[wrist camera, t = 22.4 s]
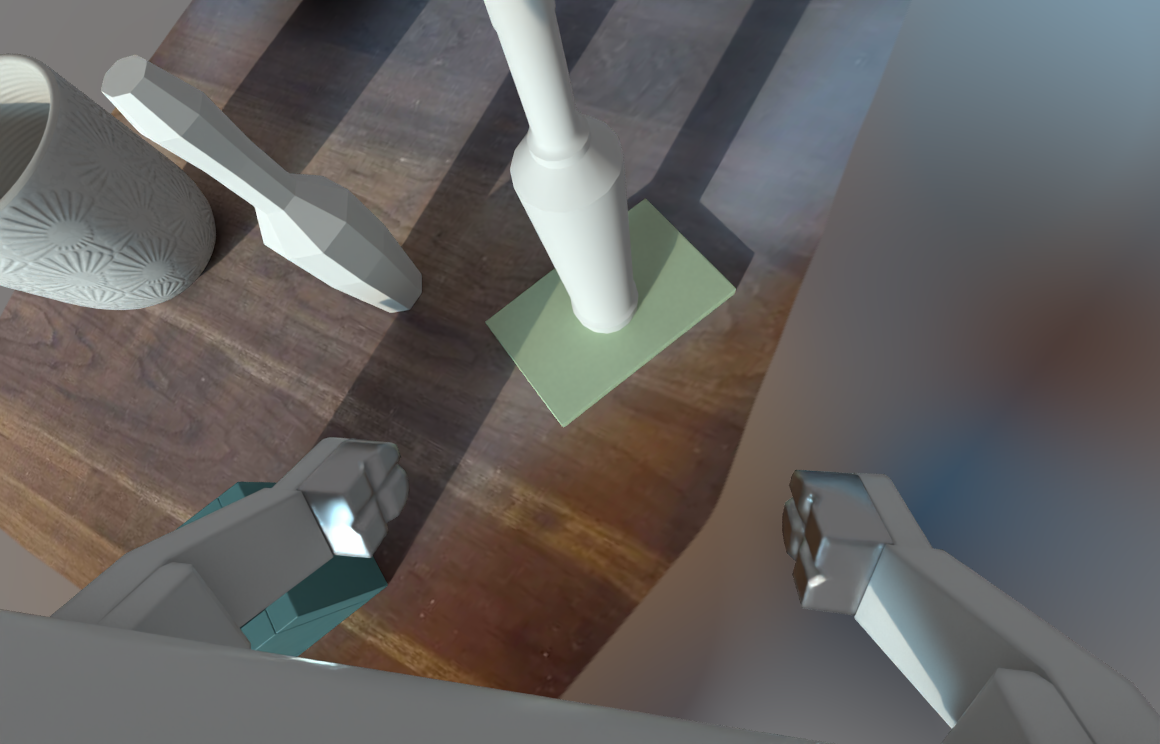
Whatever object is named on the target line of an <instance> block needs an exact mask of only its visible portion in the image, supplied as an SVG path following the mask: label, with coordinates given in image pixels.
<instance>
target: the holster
mask: <svg viewBox="0 0 1160 744" xmlns="http://www.w3.org/2000/svg"><path fill="white" fill-rule="evenodd" d="M275 484H277V483H270V482H237V483H236V484H235V485H233V486H232V487H231V488H229V489H228V490H227V491H225V492H224V493H223V494H222V495H220V496H219V497H218V498H216V499H215V500H214V501H212V502H211V503H210V504H208V505H207V506H206V507H205V508H203V509H202V510H201V511H199V512H198V513H197V514H196V515H194V516H193V517H192V518H190V519H189V520H188V521H186V522H185V523H184V524H183V525H181V526H180V527H179V528H181V527H183V526H185V525H187V524H189V523H191V522H194V521H196V520H198V519H200V518H202V517H204V516H206V515H208V514H211V513H213V512H215V511H217V510H219V509H221V508H223V507H225V506H227V505H230V504H232V503H234V502H236V501H238V500H240V499H242V498H244V497H246V496H249V495H251V494H253V493H255V492H257V491H259V490H261V489H263V488H272V487H273V486H274V485H275ZM179 528H177V529H179ZM177 529H176V530H177ZM387 585H388V584H387V582H386V580H385V578H384V577H383V575H382V573H381V571H380V569H379V567H378V565H377V563H376V561H375V559H374V557H373V556H372V557H371V558H365V557H354V556H342V555H333V558H332V559H330V560H329V561H328V562H326V563H325V564H324V565H322V566H321V567H320V568H318V569H317V570H316V571H314V572H313V573H312V574H310V575H309V576H308V577H306V578H305V579H304V580H302V581H301V582H300V583H298V584H297V585H296V586H294V587H293V588H292V589H290V590H289V591H288V592H286V593H285V594H284V595H282V596H281V597H280V598H278V599H277V600H276V601H274V602H273V603H272V604H271V605H269V606H268V607H267V608H265V609H264V610H263V611H261V612H260V613H259V614H257V615H256V616H255V617H253V618H252V619H251V620H249V621H248V622H247V623H245V624H244V625H243V626H241V627H240V629H241V631H242V632H243V633H244V635H245V636H246V637H247V639H248V640H249V641H250V643H251V650H257V651H263V652H269V653H275V654H282V655H288V656H294V657H297V656H299V655H300V654H301V653H302V652H304V651H305V650H306V649H308V648H309V647H310V646H311V645H313V644H314V643H315V642H317V641H318V640H319V639H320V638H322V637H323V636H324V635H325V634H327V633H328V632H329V631H331V630H332V629H333V628H334V627H336V626H337V625H338V624H339V623H341V622H342V621H343V620H345V619H346V618H347V617H348V616H350V615H351V614H352V613H353V612H355V611H356V610H357V609H359V608H360V607H361V606H362V605H364V604H365V603H366V602H367V601H369V600H370V599H371V598H372V597H374V596H375V595H376V594H378V593H379V592H380V591H381V590H383V589H384V588H385V587H386V586H387Z"/></svg>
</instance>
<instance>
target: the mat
mask: <svg viewBox="0 0 1160 744" xmlns="http://www.w3.org/2000/svg"><path fill="white" fill-rule="evenodd" d="M628 218H629V231H630V244H631V257H632V270H633V280H634V281H635V284H636V288H637V291H638V304H637V310H636V313H635V315H634V316H633V318H632V319H631V321H630V323H629V324H627V325H626V326H625V327H623V328H622V329H621V330H619V331H616V332H612V333H608V334H606V333H597V332H594V331H592V330H590V329H588V328H587V327H585V326H583V324H582V323H581V322H580V321H579V319H578V318H577V317H576V315H575V314H574V312H573V308H572V304H571V298H570V296H569V294H568V292H567V290H566V288H565V286H564V284H563V282H562V280H561V278H560V276H559V274H558V272H557V270H556V269H555V268H554V269H553V270H552V271H550V272H549V273H548V274H547V275H545V276H544V277H543V278H541V279H540V280H539V281H537V282H536V283H535V284H534V285H532V286H531V287H530V288H528V289H527V290H526V291H525V292H523V293H522V294H521V295H519V296H518V297H517V298H515V299H514V300H513V301H512V302H510V303H509V304H508V305H506V306H505V307H504V308H503V309H501V310H500V311H499V312H497V313H496V314H495V315H494V316H492V317H491V318H490V319H488V320H487V321H486V322H485V323H486V325H487V326H488V327H489V329H490V330H491V331H492V333H493V334H494V335H495V337H496V338H497V339H498V341H499V342H500V343H501V345H502V346H503V347H504V349H505V350H506V351H507V353H508V354H509V355H510V357H511V358H512V360H513V361H514V362H515V364H516V365H517V366H518V368H519V369H520V370H521V372H522V373H523V374H524V376H525V377H526V378H527V380H528V381H529V382H530V384H531V385H532V386H533V388H534V389H535V390H536V392H537V393H538V395H539V396H540V397H541V399H542V400H543V401H544V403H545V404H546V405H547V407H548V408H549V409H550V411H551V412H552V413H553V415H554V416H555V417H556V419H557V420H558V421H559V423H560V424H561V425H562V426H563V427H565V426H567V425H568V424H569V423H570V422H572V421H573V420H574V419H575V418H577V417H578V416H579V415H581V414H582V413H583V412H584V411H586V410H587V409H588V408H589V407H591V406H592V405H593V404H595V403H596V402H597V401H598V400H600V399H601V398H602V397H603V396H605V395H606V394H607V393H609V392H610V391H611V390H612V389H614V388H615V387H616V386H617V385H619V384H620V383H621V382H623V381H624V380H625V379H626V378H628V377H629V376H630V375H632V374H633V373H634V372H635V371H637V370H638V369H639V368H640V367H642V366H643V365H644V364H646V363H647V362H648V361H649V360H651V359H652V358H653V357H654V356H656V355H657V354H658V353H660V352H661V351H662V350H663V349H665V348H666V347H667V346H668V345H670V344H671V343H672V342H674V341H675V340H676V339H677V338H679V337H680V336H681V335H682V334H684V333H685V332H686V331H688V330H689V329H690V328H691V327H693V326H694V325H695V324H696V323H698V322H699V321H700V320H702V319H703V318H704V317H705V316H707V315H708V314H709V313H711V312H712V311H713V310H714V309H716V308H717V307H718V306H719V305H721V304H722V303H723V302H725V301H726V300H727V299H728V298H730V297H731V296H732V295H733V294H734V293H735V291H736V288H735V287H734V286H733V285H732V284H731V283H730V282H729V281H728V280H727V279H726V278H725V277H724V276H723V275H722V274H721V273H720V272H719V271H718V270H717V269H716V268H715V267H714V266H713V265H712V264H711V263H710V262H709V261H708V260H707V259H706V258H705V257H704V256H703V255H702V254H701V253H700V252H699V251H698V250H697V249H696V248H695V247H694V246H693V245H692V244H691V243H690V242H689V241H688V240H687V239H686V238H685V237H684V236H683V235H682V234H681V233H680V232H679V231H678V230H677V229H676V228H675V227H674V226H673V225H672V224H671V223H670V222H669V221H668V220H667V219H666V218H665V217H664V216H663V215H662V214H661V213H660V212H659V211H658V210H657V209H656V208H655V207H654V206H653V205H652V204H651V203H650V202H649V201H648V200H647V199H644V200H642V201H641V202H640V203H638V204H637V205H636V206H634V207H633V208H632V209H631V210H629V211H628Z"/></svg>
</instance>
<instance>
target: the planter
mask: <svg viewBox="0 0 1160 744" xmlns="http://www.w3.org/2000/svg"><path fill="white" fill-rule="evenodd" d="M215 239H216V227H215V221H214V216H213V213H212V210H211V207H210V205H209V203H208V201H207V199H206V198H205V196H204V194H203V193H202V192H201V190H200V189H199V188H198V186H197V185H196V184H195V183H194V182H193V180H192V179H191V178H190V177H189V176H188V175H187V174H186V173H185V172H184V171H183V170H182V169H181V168H180V167H178V166H177V165H176V164H175V163H174V162H172V161H171V160H170V159H168V158H167V157H166V156H165V155H163V154H162V153H161V152H159V151H158V150H157V149H155V148H154V147H153V146H152V145H150V144H149V143H148V142H146V141H145V140H144V139H142V138H141V137H140V136H138V135H137V134H136V133H135V132H133V131H132V130H131V129H129V128H128V127H127V126H125V125H124V124H123V123H121V122H120V121H119V120H118V119H116V118H115V117H114V116H112V115H111V114H110V113H108V112H107V111H106V110H105V109H103V108H102V107H101V106H99V105H98V104H97V103H95V102H94V101H93V100H91V99H90V98H89V97H88V96H86V95H85V94H84V93H82V92H81V91H80V90H78V89H77V88H76V87H75V86H73V85H72V84H71V83H69V82H68V81H67V80H65V79H64V78H63V77H61V76H60V75H59V74H58V73H56V72H55V71H54V70H52V69H51V68H50V67H48V66H47V65H46V64H44V63H43V62H41V61H39V60H37V59H35V58H33V57H30V56H26V55H21V54H0V285H1V286H5V287H9V288H12V289H16V290H20V291H24V292H28V293H32V294H35V295H39V296H43V297H47V298H51V299H55V300H59V301H62V302H66V303H70V304H75V305H79V306H85V307H91V308H97V309H109V310H130V309H140V308H145V307H149V306H153V305H156V304H159V303H162V302H165V301H167V300H170V299H172V298H174V297H175V296H177V295H179V294H180V293H182V292H183V291H184V290H186V289H187V288H188V287H189V286H190V285H191V284H192V283H193V282H194V281H195V280H196V279H197V278H198V277H199V276H200V274H201V273H202V272H203V270H204V269H205V267H206V265H207V264H208V262H209V260H210V257H211V255H212V252H213V249H214V245H215Z"/></svg>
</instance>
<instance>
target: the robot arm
mask: <svg viewBox="0 0 1160 744" xmlns="http://www.w3.org/2000/svg"><path fill="white" fill-rule="evenodd" d="M400 458H401V455H400V452H399V450H398V447H397V445H396V444H393V443H391V442H383V441H372V440H361V439H351V438H350V439H346V438H335V437H329V438H326V439H323V440H321V441H320V442H319V443H318V444H317V445H316V446H315V447H314V448H313V449H312V450H311V451H310V452H309V453H308V454H307V455H306V456H305V457H304V458H303V459H301V460H300V461H299V462H298V463H297V464H296V465H295V466H294V467H293V468H292V469H291V470H290V471H289V472H288V473H287V474H286V475H285V476H284V477H283V478H282V479H281V480H280V481H279V482H278V483H277V484H275V485H274V486H273V487H272V488H263V489H261V490H259V491H257V492H255V493H253V494H251V495H249V496H246V497H244V498H242V499H240V500H238V501H236V502H234V503H232V504H230V505H227V506H225V507H223V508H221V509H219V510H217V511H215V512H213V513H211V514H208V515H206V516H204V517H202V518H200V519H198V520H196V521H194V522H191V523H189V524H187V525H185V526H183V527H181V528H179V529H177V530H175V531H172V532H170V533H168V534H166V535H164V536H162V537H160V538H158V539H155V540H153V541H151V542H149V543H147V544H145V545H143V546H141V547H139V548H136V549H134V550H132V551H130V552H128V553H126V554H125V555H123V556H122V557H121V558H120V559H119V560H117V561H116V562H115V563H114V564H113V565H111V566H110V567H109V568H108V569H107V570H105V571H104V572H103V573H102V574H100V575H99V576H98V577H97V578H96V579H94V580H93V581H92V582H91V583H90V584H88V585H87V586H86V587H85V588H84V589H82V590H81V591H80V592H79V593H78V594H76V595H75V596H74V597H73V598H72V599H70V600H69V601H68V602H67V603H66V604H64V605H63V606H62V607H61V608H59V609H58V610H57V611H56V612H55V613H53V614H52V615H51V616H50V617H46V616H40V615H34V614H27V613H21V612H15V611H9V610H3V609H0V744H832V743H826V742H820V741H814V740H808V739H802V738H795V737H789V736H783V735H777V734H771V733H765V732H758V731H752V730H746V729H740V728H734V727H727V726H721V725H714V724H709V723H703V722H697V721H691V720H684V719H678V718H672V717H666V716H660V715H653V714H647V713H641V712H635V711H629V710H622V709H616V708H610V707H604V706H598V705H592V704H586V703H580V702H573V701H567V700H561V699H555V698H549V697H543V696H536V695H530V694H524V693H518V692H512V691H505V690H499V689H493V688H487V687H480V686H474V685H468V684H462V683H456V682H449V681H443V680H437V679H431V678H424V677H418V676H412V675H406V674H400V673H393V672H387V671H381V670H375V669H369V668H362V667H356V666H350V665H344V664H337V663H331V662H325V661H319V660H313V659H306V658H300V657H294V656H288V655H282V654H275V653H269V652H263V651H257V650H251V643H250V641H249V640H248V639H247V637H246V636H245V635H244V633H243V632H242V631H241V629H240V627H241V626H243V625H244V624H245V623H247V622H248V621H249V620H251V619H252V618H253V617H255V616H256V615H257V614H259V613H260V612H261V611H263V610H264V609H265V608H267V607H268V606H269V605H271V604H272V603H273V602H274V601H276V600H277V599H278V598H280V597H281V596H282V595H284V594H285V593H286V592H288V591H289V590H290V589H292V588H293V587H294V586H296V585H297V584H298V583H300V582H301V581H302V580H304V579H305V578H306V577H308V576H309V575H310V574H312V573H313V572H314V571H316V570H317V569H318V568H320V567H321V566H322V565H324V564H325V563H326V562H328V561H329V560H330V559H332V558H333V555H342V556H354V557H365V558H371V557H372V556H373V554H374V553H375V551H376V550H377V548H378V547H379V545H380V544H381V542H382V540H383V539H384V537H385V536H386V534H387V533H388V526H387V522H389V521H391V520H392V519H394V518H395V517H397V516H399V514H400V513H401V511H402V510H403V508H404V506H405V505H406V502H407V498H408V494H409V480H408V476H407V473H406V472H405V471H404V470H403V469H402V468H401V467H400V466H399V465H398V462H399V460H400ZM789 486H790V489H791V492H792V496H793V497H792V498H791V499H789V500H788V501H787V502H786V503H785V506H784V512H783V517H782V531H783V539H784V544H785V547H786V552H787V554H789V555H790V556H791V557H792V558H793V559H794V560H795V561H796V563H795V567H794V570H793V578H794V581H795V585H796V589H797V592H798V596H799V600H800V603H801V607H802V608H805V609H812V610H819V611H826V612H833V613H841V614H847V615H855V619H856V620H857V622H858V623H859V624H860V625H861V626H862V627H863V628H864V630H865V631H866V632H867V633H868V634H869V635H870V636H871V637H872V639H873V640H874V641H875V642H876V643H877V644H878V645H879V647H880V648H881V649H882V650H883V651H884V652H885V653H886V655H887V656H888V657H889V658H890V659H891V660H892V661H893V662H894V664H895V665H896V666H897V667H898V668H899V669H900V670H901V671H902V673H903V674H904V675H905V676H906V677H907V678H908V679H909V681H910V682H911V683H912V684H913V685H914V686H915V687H916V689H917V690H918V691H919V692H920V693H921V694H922V695H923V697H924V698H925V699H926V700H927V701H928V702H929V703H930V704H931V706H932V707H933V708H934V709H935V710H936V711H937V712H938V714H939V715H940V716H941V717H942V718H943V719H944V720H945V722H946V723H947V724H948V725H949V726H950V727H951V728H952V730H951V731H950V732H949V733H948V735H947V736H946V737H945V739H944V740H943V742H942V743H941V744H1160V716H1159V714H1158V713H1157V712H1156V711H1155V709H1154V708H1153V707H1152V706H1151V704H1150V703H1149V702H1148V701H1147V700H1146V698H1145V697H1144V696H1143V694H1142V693H1141V692H1140V691H1139V689H1138V688H1137V687H1136V686H1135V684H1134V683H1133V682H1131V681H1130V680H1128V679H1127V678H1126V677H1124V676H1123V675H1121V674H1120V673H1118V672H1117V671H1116V670H1114V669H1112V668H1111V667H1110V666H1109V665H1107V664H1106V663H1104V662H1103V661H1101V660H1100V659H1099V658H1097V657H1096V656H1094V655H1093V654H1091V653H1090V652H1088V651H1087V650H1086V649H1084V648H1083V647H1081V646H1080V645H1078V644H1077V643H1076V642H1074V641H1073V640H1071V639H1070V638H1069V637H1067V636H1066V635H1064V634H1063V633H1061V632H1060V631H1058V630H1057V629H1056V628H1054V627H1053V626H1051V625H1050V624H1048V623H1047V622H1046V621H1044V620H1043V619H1041V618H1040V617H1039V616H1037V615H1036V614H1034V613H1033V612H1031V611H1030V610H1029V609H1027V608H1026V607H1024V606H1023V605H1021V604H1020V603H1018V602H1017V601H1016V600H1014V599H1013V598H1011V597H1010V596H1008V595H1007V594H1006V593H1004V592H1003V591H1001V590H1000V589H999V588H997V587H995V586H994V585H993V584H991V583H990V582H988V581H987V580H986V579H984V578H983V577H981V576H980V575H979V574H977V573H976V572H974V571H973V570H971V569H970V568H968V567H967V566H966V565H964V564H963V563H961V562H960V561H958V560H957V559H956V558H954V557H953V556H951V555H950V554H949V553H947V552H946V551H944V550H941V549H933V548H932V546H931V545H930V543H929V541H928V540H927V538H926V536H925V535H924V533H923V532H922V530H921V528H920V527H919V525H918V524H917V522H916V520H915V519H914V517H913V515H912V514H911V512H910V511H909V509H908V507H907V506H906V504H905V502H904V500H903V499H902V497H901V496H900V494H899V492H898V491H897V490H896V488H895V486H894V485H893V483H892V481H891V479H890V478H889V477H887V476H885V475H884V474H865V473H853V474H852V473H839V472H821V471H806V470H795V471H794V473H793V474H792V477H791V481H790V485H789Z"/></svg>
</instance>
